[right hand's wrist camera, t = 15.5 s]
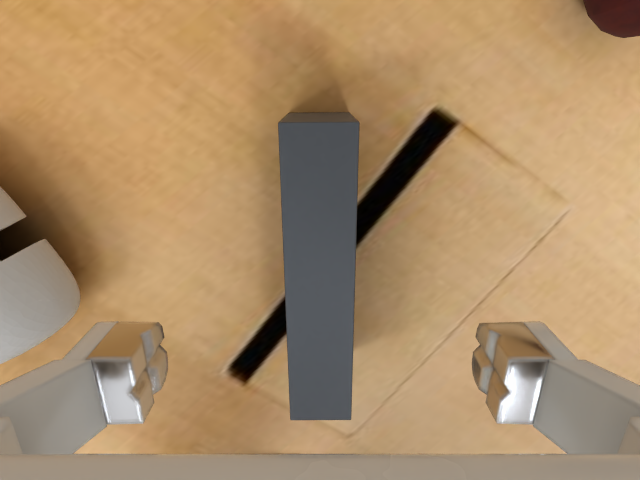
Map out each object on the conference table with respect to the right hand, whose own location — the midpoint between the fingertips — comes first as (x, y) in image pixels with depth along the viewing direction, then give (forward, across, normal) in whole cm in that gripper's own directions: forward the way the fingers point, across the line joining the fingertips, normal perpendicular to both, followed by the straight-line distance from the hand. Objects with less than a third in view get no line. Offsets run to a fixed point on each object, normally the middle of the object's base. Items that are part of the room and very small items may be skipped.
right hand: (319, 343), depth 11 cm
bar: (+25, 0, -7) cm, 26 cm away
